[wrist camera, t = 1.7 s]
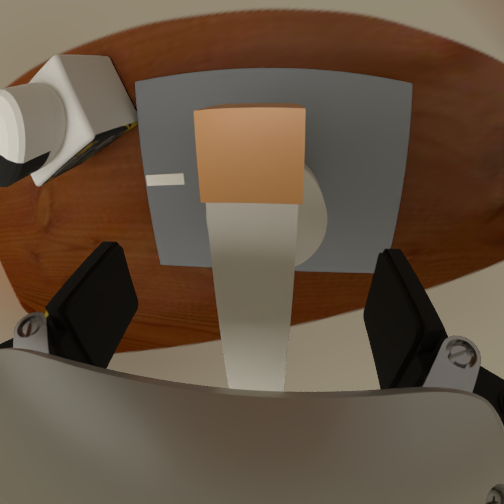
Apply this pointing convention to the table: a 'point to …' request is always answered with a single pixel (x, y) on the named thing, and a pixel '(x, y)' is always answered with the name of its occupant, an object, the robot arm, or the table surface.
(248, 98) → the coupling base
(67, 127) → the medicine bottle
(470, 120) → the table surface
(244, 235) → the grey and orange blocks
